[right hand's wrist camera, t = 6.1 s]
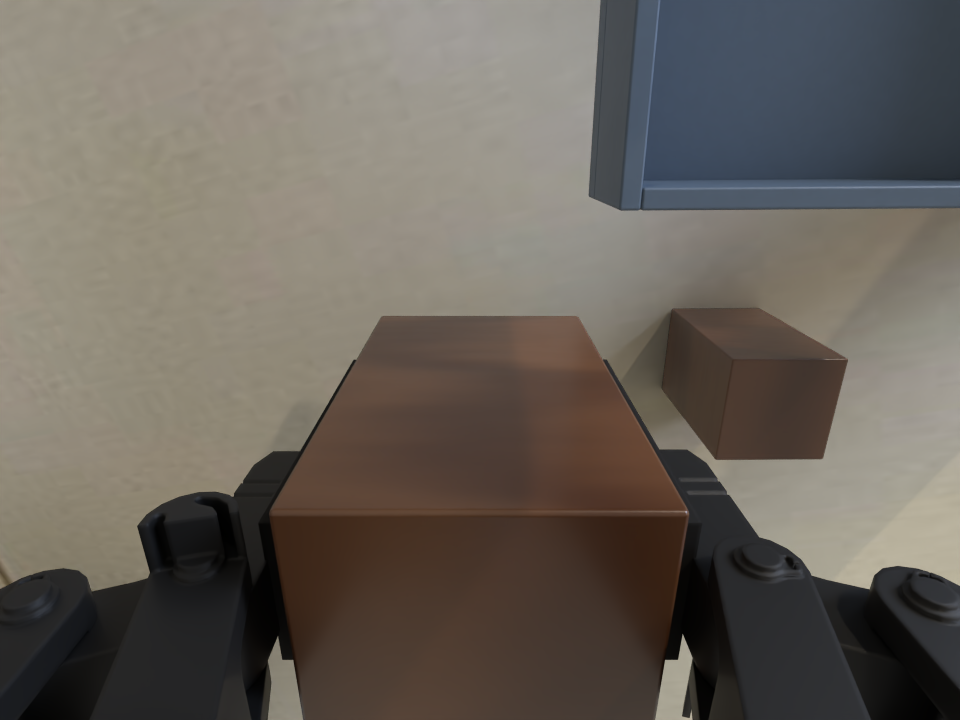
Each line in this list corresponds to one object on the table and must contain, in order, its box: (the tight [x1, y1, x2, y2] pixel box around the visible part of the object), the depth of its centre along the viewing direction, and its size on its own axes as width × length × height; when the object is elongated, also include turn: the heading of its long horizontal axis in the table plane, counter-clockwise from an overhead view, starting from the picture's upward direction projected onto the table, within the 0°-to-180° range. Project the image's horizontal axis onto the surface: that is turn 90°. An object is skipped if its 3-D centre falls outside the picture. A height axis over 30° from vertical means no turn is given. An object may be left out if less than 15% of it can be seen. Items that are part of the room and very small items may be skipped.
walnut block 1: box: [269, 316, 689, 720], centre depth 11 cm, size 5×5×8 cm
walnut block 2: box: [662, 308, 848, 460], centre depth 28 cm, size 5×5×8 cm
